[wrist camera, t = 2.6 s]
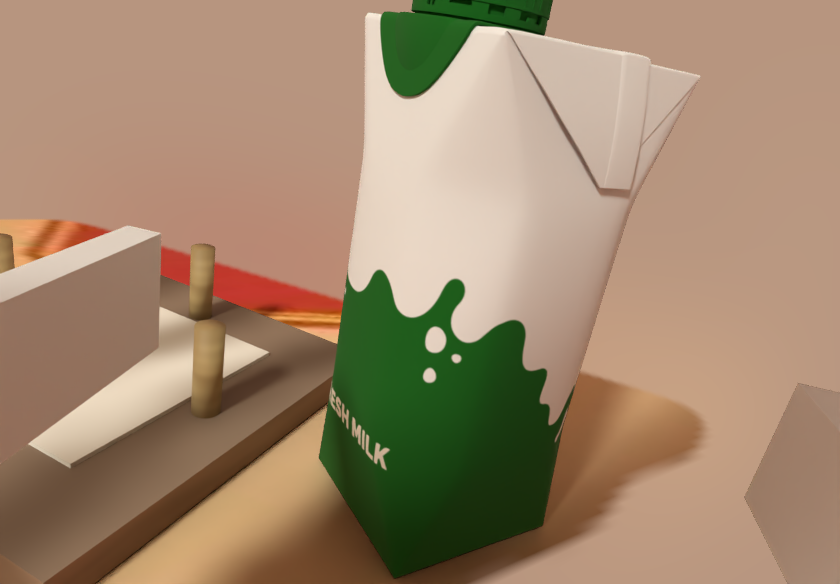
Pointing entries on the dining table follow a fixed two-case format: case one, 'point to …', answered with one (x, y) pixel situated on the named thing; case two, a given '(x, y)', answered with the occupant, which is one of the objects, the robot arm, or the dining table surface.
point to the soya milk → (479, 264)
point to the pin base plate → (156, 433)
